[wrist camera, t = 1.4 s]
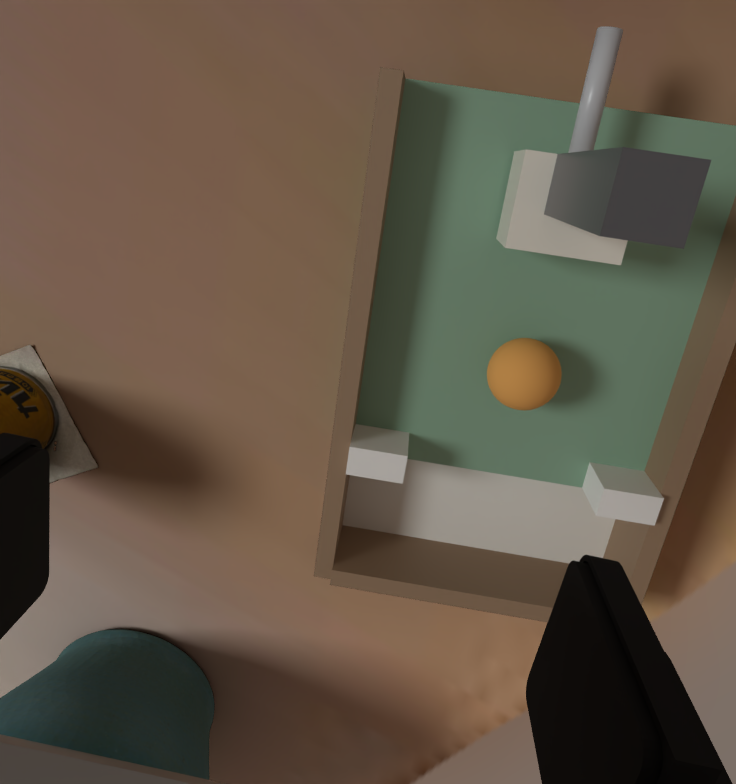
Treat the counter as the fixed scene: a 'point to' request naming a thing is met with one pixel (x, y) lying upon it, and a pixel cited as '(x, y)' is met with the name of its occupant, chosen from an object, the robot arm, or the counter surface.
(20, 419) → the condiment
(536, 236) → the striker
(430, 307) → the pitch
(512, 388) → the ball
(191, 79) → the counter surface
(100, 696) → the flower pot
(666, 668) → the robot arm
